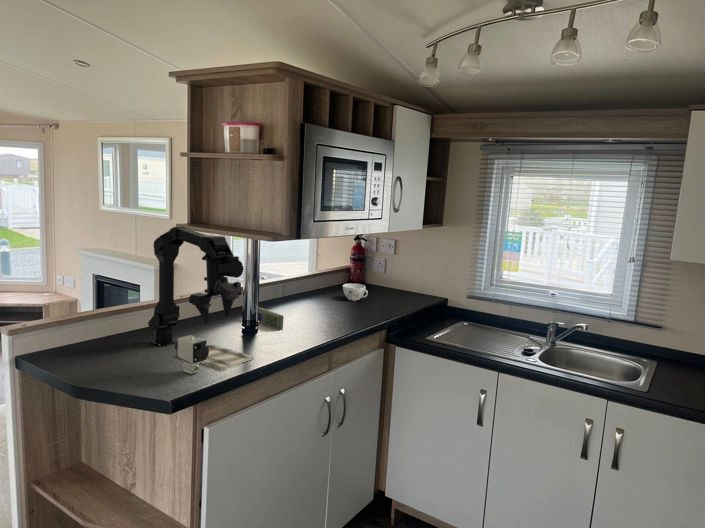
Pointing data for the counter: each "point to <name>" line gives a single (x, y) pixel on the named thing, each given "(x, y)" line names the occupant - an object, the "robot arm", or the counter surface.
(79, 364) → the counter surface
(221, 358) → the mounting panel
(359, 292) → the teacup
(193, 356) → the pneumatic valve
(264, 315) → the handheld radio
